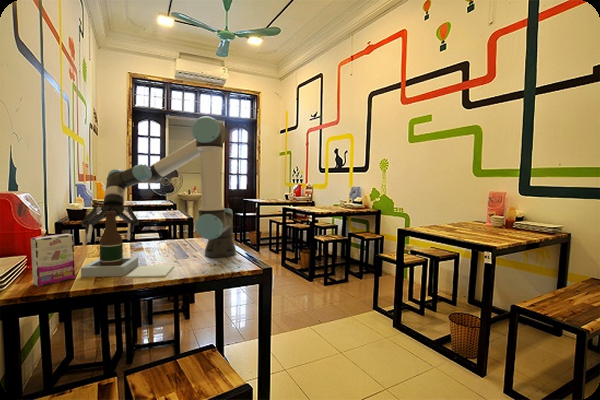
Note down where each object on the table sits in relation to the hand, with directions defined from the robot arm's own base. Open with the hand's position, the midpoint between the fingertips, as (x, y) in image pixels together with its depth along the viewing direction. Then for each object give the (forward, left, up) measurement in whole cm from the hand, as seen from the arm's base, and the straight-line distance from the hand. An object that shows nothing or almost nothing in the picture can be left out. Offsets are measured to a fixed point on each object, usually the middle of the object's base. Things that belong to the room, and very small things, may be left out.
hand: (109, 239), depth 124 cm
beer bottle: (-1, 0, -13) cm, 13 cm away
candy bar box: (+13, +12, -13) cm, 22 cm away
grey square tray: (-1, 0, -13) cm, 13 cm away
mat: (-17, +3, -13) cm, 21 cm away
